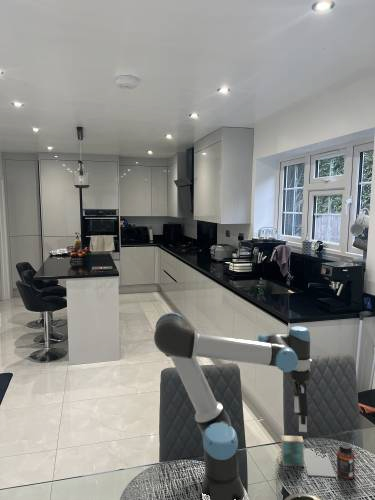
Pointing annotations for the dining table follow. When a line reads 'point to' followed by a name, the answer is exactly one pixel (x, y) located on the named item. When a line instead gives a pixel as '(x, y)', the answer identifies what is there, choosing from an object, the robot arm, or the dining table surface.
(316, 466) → the grey mat
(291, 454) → the small box
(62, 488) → the dining table surface
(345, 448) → the supplement bottle
